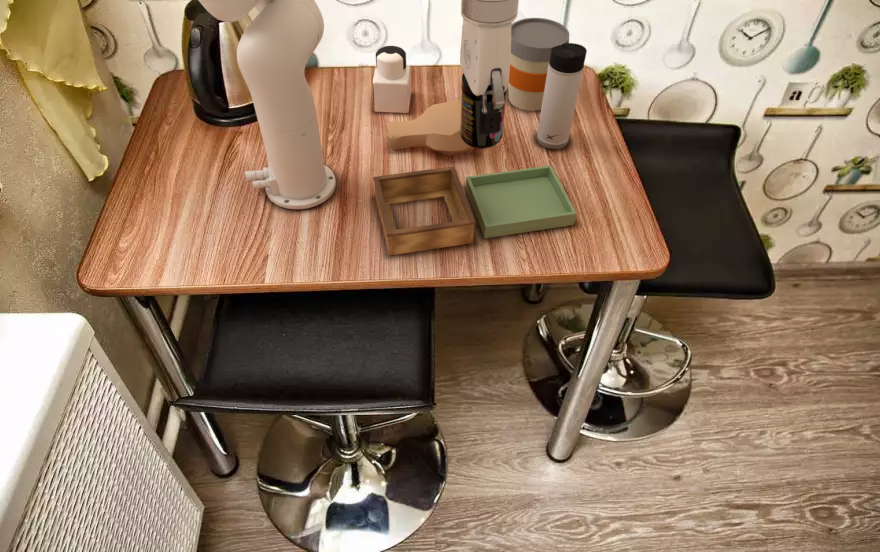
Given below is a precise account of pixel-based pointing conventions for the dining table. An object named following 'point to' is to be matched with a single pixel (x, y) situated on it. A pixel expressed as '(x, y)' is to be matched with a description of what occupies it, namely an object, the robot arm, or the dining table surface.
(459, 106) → the squash
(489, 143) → the supplement container
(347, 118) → the dining table surface
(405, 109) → the white block figurine
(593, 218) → the dining table surface
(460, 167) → the dining table surface
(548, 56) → the reusable coffee cup
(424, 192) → the brown wooden square frame
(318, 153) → the robot arm
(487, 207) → the tray
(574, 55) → the travel mug
